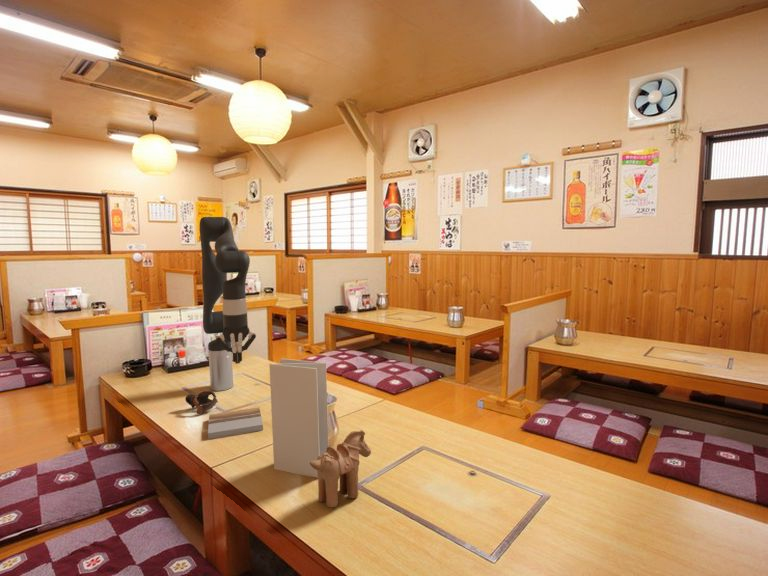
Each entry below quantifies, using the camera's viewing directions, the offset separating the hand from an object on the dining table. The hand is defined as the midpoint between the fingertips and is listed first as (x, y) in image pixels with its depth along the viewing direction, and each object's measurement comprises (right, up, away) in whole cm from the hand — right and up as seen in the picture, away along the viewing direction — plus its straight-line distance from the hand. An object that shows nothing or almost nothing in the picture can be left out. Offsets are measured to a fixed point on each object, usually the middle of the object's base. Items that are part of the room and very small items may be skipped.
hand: (237, 362), depth 141 cm
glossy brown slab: (-4, -22, +8) cm, 24 cm away
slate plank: (-1, -23, +1) cm, 23 cm away
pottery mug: (-20, -21, +18) cm, 34 cm away
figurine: (+39, -27, -36) cm, 59 cm away
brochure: (+26, -25, -23) cm, 43 cm away
